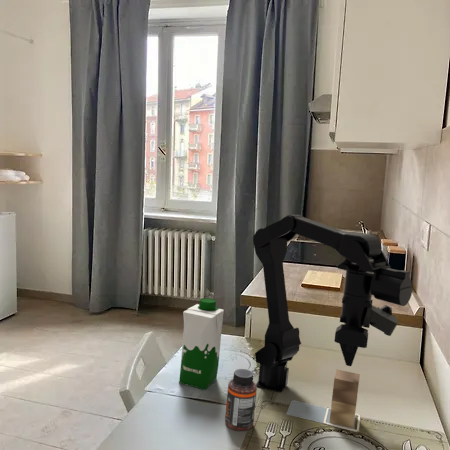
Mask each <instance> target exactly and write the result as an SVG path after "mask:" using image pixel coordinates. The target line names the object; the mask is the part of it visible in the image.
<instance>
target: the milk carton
mask: <svg viewBox="0 0 450 450" xmlns="http://www.w3.org/2000/svg"><path fill="white" fill-rule="evenodd" d="M216 305H217V300H216V299H213V298H209V297H204V298H200V299H199V304H198V303H196V304H195V305H192V306H191V307H188V308H187V309H186V310H184V311H183V312H182V314H183V334H182V346H181V348H182V349H181V359H180V360H181V361H180V368H179V369H180V371H179V381H178V382H179V384H182V385H186V386H190V387H193V388H197V389H200V390H204V391H205V390H207V388H209V387H210V386H211V385H212V384H213V383H214V382H215V381H216V380H217V377H218V372H219V371H218V370H219V363H220V355H221V354H220V352H221V340H222V331H223V330H222V329H223V320H224V312H225V309H224V308H223V309H222V308H219V307H217V306H216Z"/></svg>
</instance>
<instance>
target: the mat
mask: <svg viewBox="0 0 450 450" xmlns="http://www.w3.org/2000/svg"><path fill="white" fill-rule="evenodd" d="M286 411H287V412H286V413H285V415H288V416H291V417H297V418H300V419H305V420H308V421H311V422H316V423H320V424H323V422H324V418H325V414H326V411H327V407H324V406H321V405H320V406H319V405H315V404H311V403H307V402H302V401H298V400H294V399H292V400H291V401H290V404H289V406H288V409H287V410H286ZM330 413H331V410H330V409H329V411H328V415H327V419H326V423H330V422H329V421H330ZM356 419H357V416H355V419H354V427H353V428H350V427H346V426H342V425H338V424H334V423H330V424H334V425H338V426H342V427H346V428H350V429H354V430H356V428H355V427H356Z"/></svg>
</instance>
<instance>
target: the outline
mask: <svg viewBox="0 0 450 450" xmlns="http://www.w3.org/2000/svg"><path fill="white" fill-rule="evenodd" d="M326 408H327V411H326V414H325V418H324V422H323V423H322V424H324V425H328V426H331V427H335V428H339V429H343V430H345V431H346V430H347V431H351V432H355V433H359V432H360V422H361V415H360V414H358V413H355V416H356V417H357V424H356V429H350V428H346V427H342V426H338V425H334V424H330V423H326V419H327V415H328V411H329V409H330V410H331V407H326Z"/></svg>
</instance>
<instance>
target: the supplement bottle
mask: <svg viewBox="0 0 450 450" xmlns="http://www.w3.org/2000/svg"><path fill="white" fill-rule="evenodd" d="M256 384H257V383H256V382H255V381H254V373H253V372H252V371H251V370H249V369H246V368H237V369H235V370H234V371H233V377H232V379H231V380H230V381H228V386H227V394H226V405H225V416H224V418H225V419H224V422H225V424H226V426H227V427H228V428H229V429H232V430H233V431H237V432H244V431H248V430H250V429H252V428H253V425H254V420H255V412H256V411H255V409H256V400H257V391H258V389H257V388H258V387H257V386H256Z"/></svg>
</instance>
